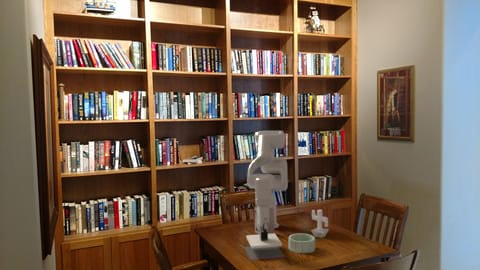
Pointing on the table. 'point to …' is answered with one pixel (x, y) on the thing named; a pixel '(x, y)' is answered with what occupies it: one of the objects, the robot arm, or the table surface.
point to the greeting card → (271, 221)
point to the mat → (263, 252)
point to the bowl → (301, 243)
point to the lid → (257, 242)
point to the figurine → (319, 224)
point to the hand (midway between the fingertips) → (263, 237)
